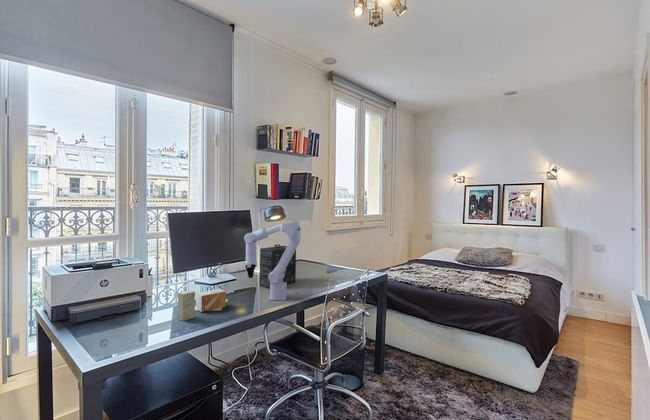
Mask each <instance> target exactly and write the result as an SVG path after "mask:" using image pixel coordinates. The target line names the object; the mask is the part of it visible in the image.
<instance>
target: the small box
mask: <svg viewBox="0 0 650 420" xmlns="http://www.w3.org/2000/svg"><path fill="white" fill-rule="evenodd" d="M226 299H227V291H226V290H224V289H222V288H216V289H211V290H206V291H200V292H195V306H196V309H197V310H199V311H198V312H201V313H202V312H204V313H205V312H208V311H209V310H212V311H214V310H213V309H217V308H221V307H223V308H225V307H226V306H227V302H226Z"/></svg>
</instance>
